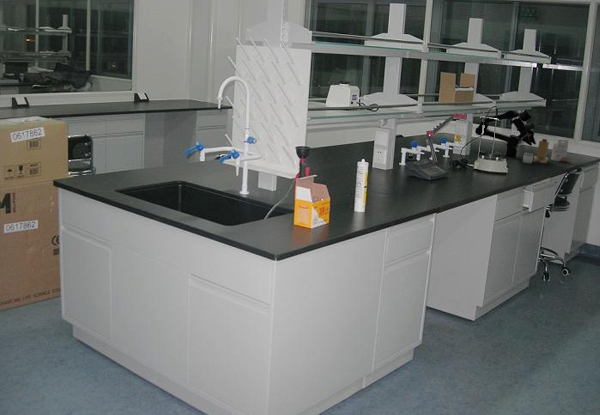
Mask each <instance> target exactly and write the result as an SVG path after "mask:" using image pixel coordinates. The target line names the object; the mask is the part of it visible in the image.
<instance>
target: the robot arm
mask: <svg viewBox="0 0 600 415" xmlns="http://www.w3.org/2000/svg"><path fill="white" fill-rule="evenodd" d="M496 116H497V118H498V119H499V120H498V121H497V122H499V121H504V120H510V121H509V125H514V127H515V128H516V132H519V134H518V135H515V134H510V135H506V134H503V133H500V132H495V131H492V130H490V129H489V125H490V123H494V122H496V121H495V120H494V119H489V117H486V118H487V119H485V122H484V125H485V128H484V134H483V135H481V133H482V125H483V120H482V121H481V123H479V125H478V126H477V127H476V128H475V131H474V132H475V135H477V136H481V137H482V136H483V137H484V136H485V137H490V138H493V139H497V140H498V141H499V140H500V141H503V142H505V143H506V144H505V145H506V152H505V156H506V157H512V158H515V157H517V154H518V147H519V146H520V145H521V144H522V142H524V143H526V144H527V145H528V146H530V147H531V146H533V145H536V144H537V141H536V139H535V129H537V124H536V123H534V122H531V123H530V124H529V125H527V124H526V123H527V122H528V121H529V120H531V119H532V118H533V117H534V116H533V113H532V112H531V111H530V110H528V108H527V109H525V110H523V111H522V112H518V111H517V110H515V109H514V110H513V109H511V110H508V111H506V112H504V113H502V114H501V113H500V114H498V115H494V116H492V117H494V118H496ZM524 122H525V123H524ZM494 132H495V138H494Z"/></svg>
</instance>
